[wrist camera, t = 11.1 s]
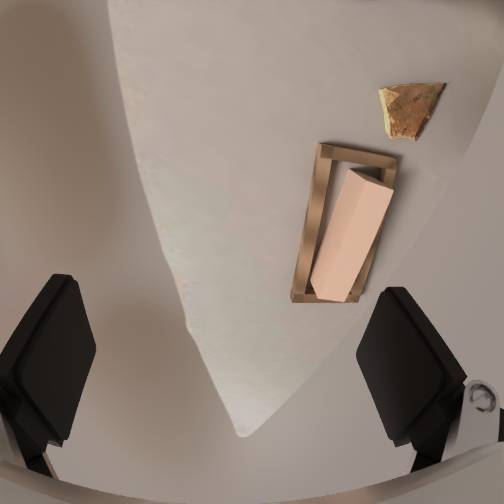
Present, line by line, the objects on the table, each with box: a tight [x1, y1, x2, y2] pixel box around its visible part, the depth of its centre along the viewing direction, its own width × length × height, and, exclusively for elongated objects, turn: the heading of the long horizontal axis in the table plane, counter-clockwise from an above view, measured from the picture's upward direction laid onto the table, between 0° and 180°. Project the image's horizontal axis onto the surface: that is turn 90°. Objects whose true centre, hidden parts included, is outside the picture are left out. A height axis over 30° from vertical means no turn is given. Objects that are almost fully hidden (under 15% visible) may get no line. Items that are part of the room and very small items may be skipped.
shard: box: [379, 83, 446, 141], centre depth 32 cm, size 11×8×2 cm
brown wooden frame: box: [290, 143, 399, 303], centre depth 39 cm, size 22×10×2 cm, turn 174°
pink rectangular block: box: [309, 169, 394, 302], centre depth 37 cm, size 16×4×6 cm, turn 165°
